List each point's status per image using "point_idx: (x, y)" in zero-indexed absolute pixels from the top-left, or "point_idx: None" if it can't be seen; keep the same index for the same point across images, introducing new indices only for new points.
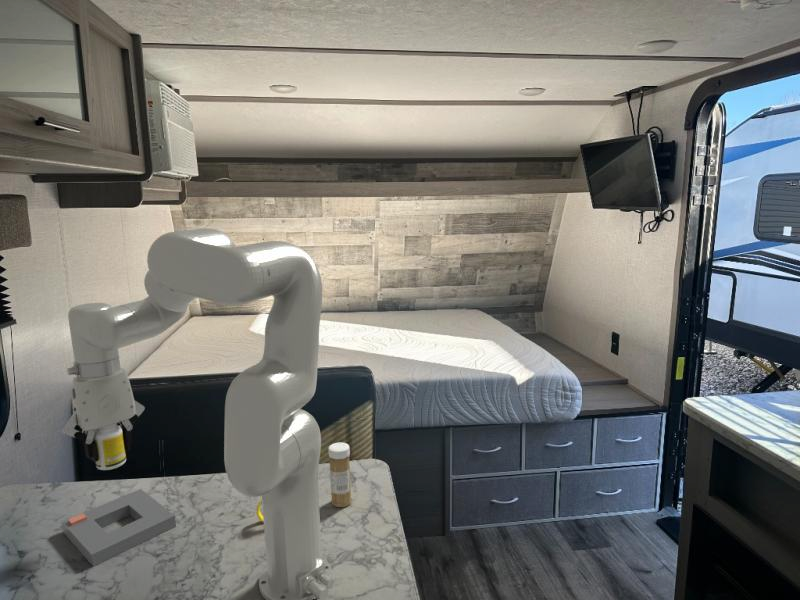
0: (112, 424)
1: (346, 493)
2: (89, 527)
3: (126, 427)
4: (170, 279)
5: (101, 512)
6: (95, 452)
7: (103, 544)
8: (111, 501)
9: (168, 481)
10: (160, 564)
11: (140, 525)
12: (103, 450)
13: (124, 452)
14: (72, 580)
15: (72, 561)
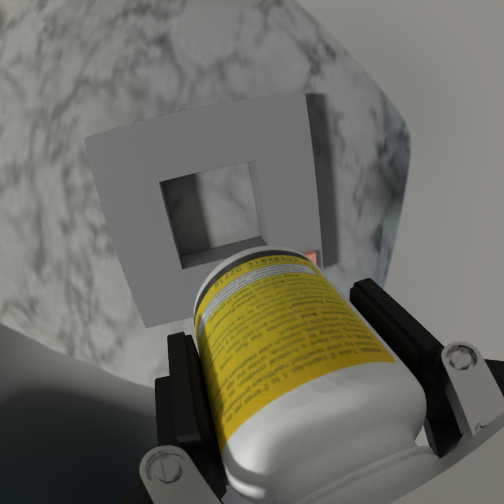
0: (353, 497)
1: None
2: (284, 218)
3: (192, 473)
4: None
5: None
6: (392, 306)
7: (274, 115)
8: None
9: (87, 349)
10: (169, 6)
11: (174, 142)
12: (353, 313)
13: (206, 318)
14: (332, 79)
15: (321, 145)
